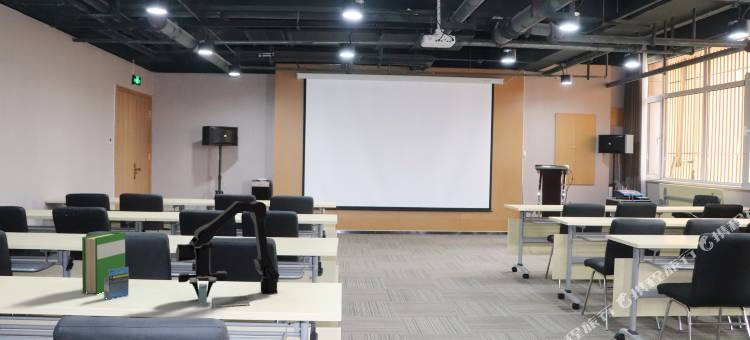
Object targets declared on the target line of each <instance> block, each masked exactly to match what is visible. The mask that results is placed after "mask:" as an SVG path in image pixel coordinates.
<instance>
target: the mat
mask: <svg viewBox="0 0 750 340" xmlns="http://www.w3.org/2000/svg"><path fill="white" fill-rule="evenodd" d="M246 305H248V306H250V305H251V304H250V300H249V295H248V294H244V295H243V294H242V295H229V296H214V297H212V308H213V307H215V308H223V307H222V306H232V307H243V306H244V307H246Z"/></svg>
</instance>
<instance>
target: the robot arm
mask: <svg viewBox="0 0 750 340" xmlns="http://www.w3.org/2000/svg"><path fill="white" fill-rule="evenodd" d="M241 212H246V213H249V216H250V218H251V220H252V222H253V226H254V227H253V228H254V234H255V242H256V250H257V258H255V259H253V262H254V269H255V270H256V271H257V273H258V274H259V275H260V277H261V281H260V292H261V294H263V295H267V294H271V295H272V294H278V293H279V292H278V280H279V278H280V274H279V272H278V271H276V270H275V266H274V262H273V260H272V258H271V256H270V254H269V246H268V239H267V230H266V218H267V205H266V203H264V202H263V201H259V200H253V201H251V202H246V201H245V202H244V201H236V200H235V201H234V202H232V204H231V205H230V206H228V207H227V208H226V209H225V210H223V212H221V213H220V214H219V215H218V216H217V217H215V218H214V219H213V220H211V221H210V222H208V223H205V224H204V225H201V226H200V227H198V228H197V229H195V231H194V232H193V233H194V234H193V237H192V239H190V241H189V243H182V244H181V243H177V245H176V249H175V260H176V262H188V261H193V259H195V262H192V263H191V264H192V265H191V271H192V272H195V274H190V272H180V273H179V274H178V278H177V280H178V282H177V283H187V282H188V283H189V284H190V285H192V287H193V288H194V291H195V295H196V296H197V299H199V282H198V280H203V279H204V280H205V279H206V280H207V279H208V280H207V281H208V283H207V298H208V297H209V295H210V293H211V292H210V291H211V289H212V287H213V285H214V284H215V283H217V280H218V281H227V279H228V278H227V277H228V276H227V271H226V270H218V271H217V270H216V273H211V249H214V248H216V245H214V244H213V242H212V240H213V238H214V237H215V236H216V234H217V232H218V231H219V230H220V229H221V228H222V227H223V226H225V225H226V224H227V223H229V221H231V220H232V219H233V218H234V217H236V215H238V214H239V213H241Z"/></svg>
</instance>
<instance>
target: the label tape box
mask: <svg viewBox="0 0 750 340" xmlns="http://www.w3.org/2000/svg"><path fill="white" fill-rule="evenodd" d="M117 271H122V272H120V273H116V272H117ZM129 272H130V271H129V266H125V267H124V268H118V269H111V270H109V276H108V277H106V278H104V293H103V294H104V295H103V298H104V299H105V298H107V299H106V300H108V299H110V300H113V299H112V298H115V299H118V298H117V297H119V298H123V296H124V297H128V296H129V285H130V284H129V280H130V279H129V278H130V277H129V276H130V275H129V274H130V273H129ZM127 295H128V296H127Z"/></svg>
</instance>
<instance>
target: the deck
mask: <svg viewBox="0 0 750 340" xmlns="http://www.w3.org/2000/svg"><path fill="white" fill-rule="evenodd" d="M207 288H208V283H198V290H199V298H198V304H199V303H202V304H207V302H208V301H207Z"/></svg>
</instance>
